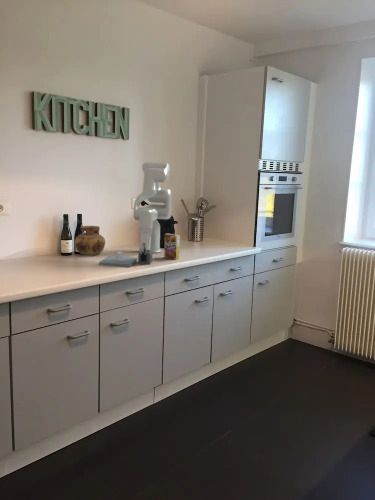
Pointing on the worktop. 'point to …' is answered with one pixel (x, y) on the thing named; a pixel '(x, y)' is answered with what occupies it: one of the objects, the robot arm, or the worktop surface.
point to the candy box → (172, 246)
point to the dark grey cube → (148, 258)
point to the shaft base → (118, 260)
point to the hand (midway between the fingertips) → (145, 259)
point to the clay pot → (90, 241)
